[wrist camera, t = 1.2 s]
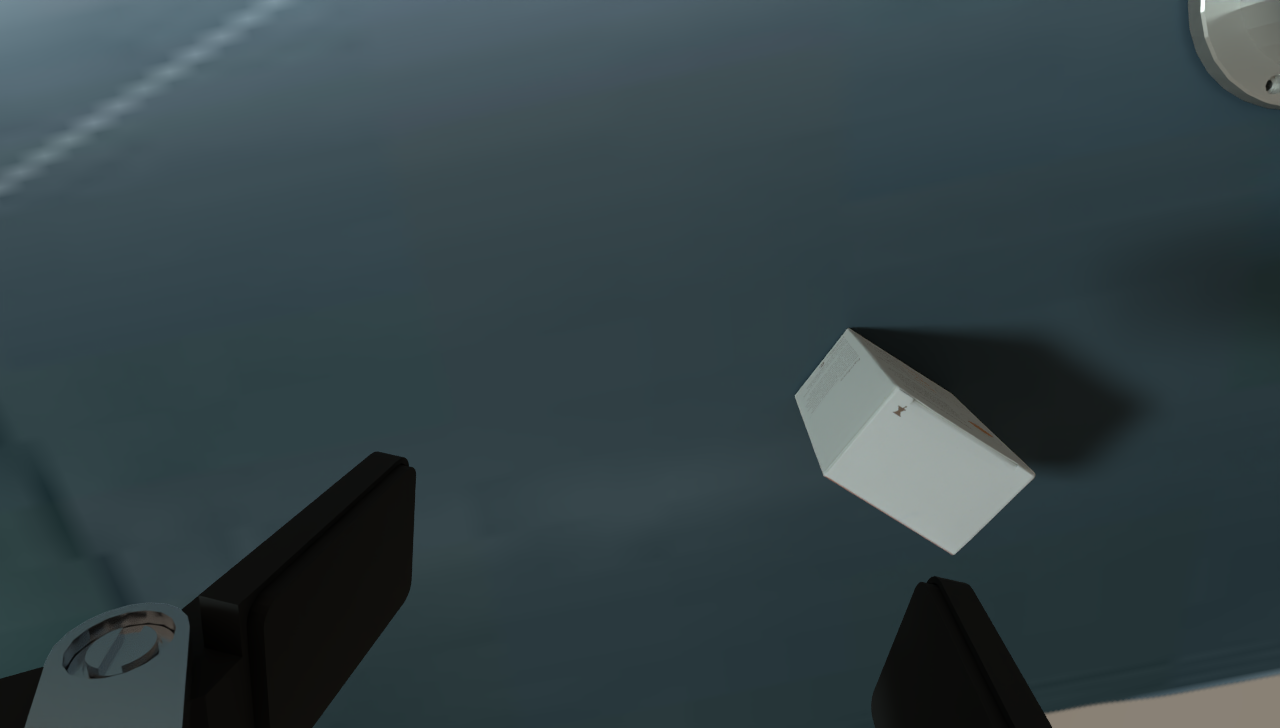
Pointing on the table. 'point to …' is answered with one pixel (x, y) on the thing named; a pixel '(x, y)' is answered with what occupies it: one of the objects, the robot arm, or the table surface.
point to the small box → (906, 444)
